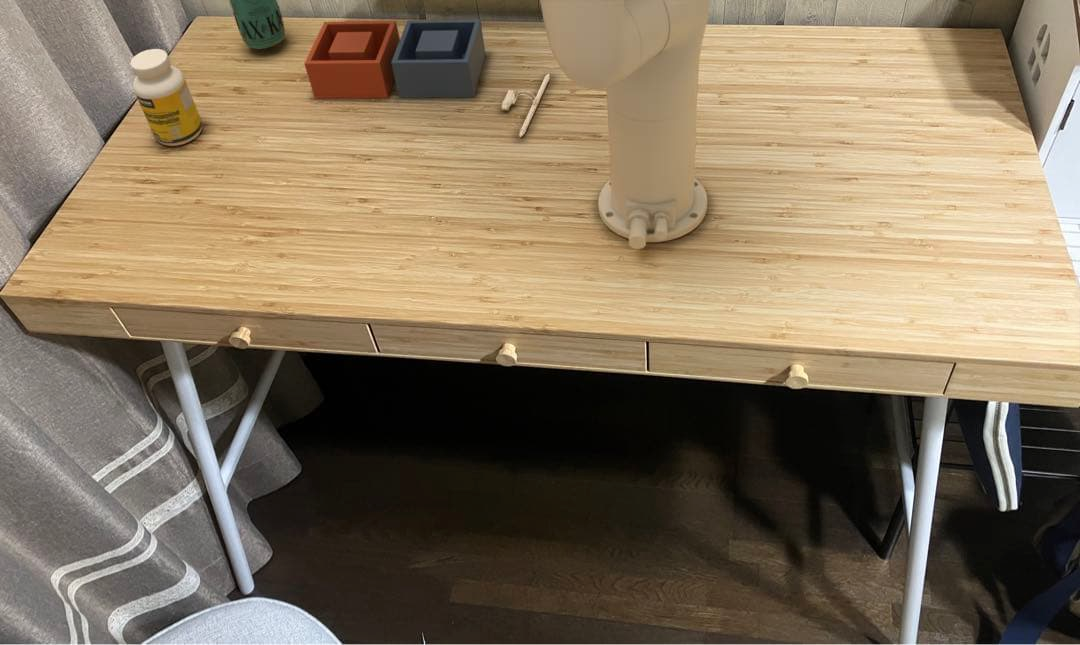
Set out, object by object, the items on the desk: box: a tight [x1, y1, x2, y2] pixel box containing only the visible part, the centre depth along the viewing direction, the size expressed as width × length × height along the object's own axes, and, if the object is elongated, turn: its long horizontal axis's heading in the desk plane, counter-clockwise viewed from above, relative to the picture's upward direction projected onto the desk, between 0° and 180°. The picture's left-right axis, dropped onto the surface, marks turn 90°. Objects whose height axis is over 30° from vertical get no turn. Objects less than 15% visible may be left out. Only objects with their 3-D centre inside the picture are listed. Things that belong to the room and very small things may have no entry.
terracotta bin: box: [304, 20, 401, 99], centre depth 140 cm, size 10×10×6 cm
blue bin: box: [391, 18, 486, 99], centre depth 138 cm, size 10×10×6 cm
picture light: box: [501, 73, 551, 138], centre depth 133 cm, size 14×4×2 cm, turn 165°
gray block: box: [416, 30, 463, 60], centre depth 138 cm, size 5×5×5 cm
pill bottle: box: [130, 48, 203, 147], centre depth 132 cm, size 6×6×12 cm
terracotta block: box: [328, 32, 378, 61], centre depth 139 cm, size 5×5×5 cm
